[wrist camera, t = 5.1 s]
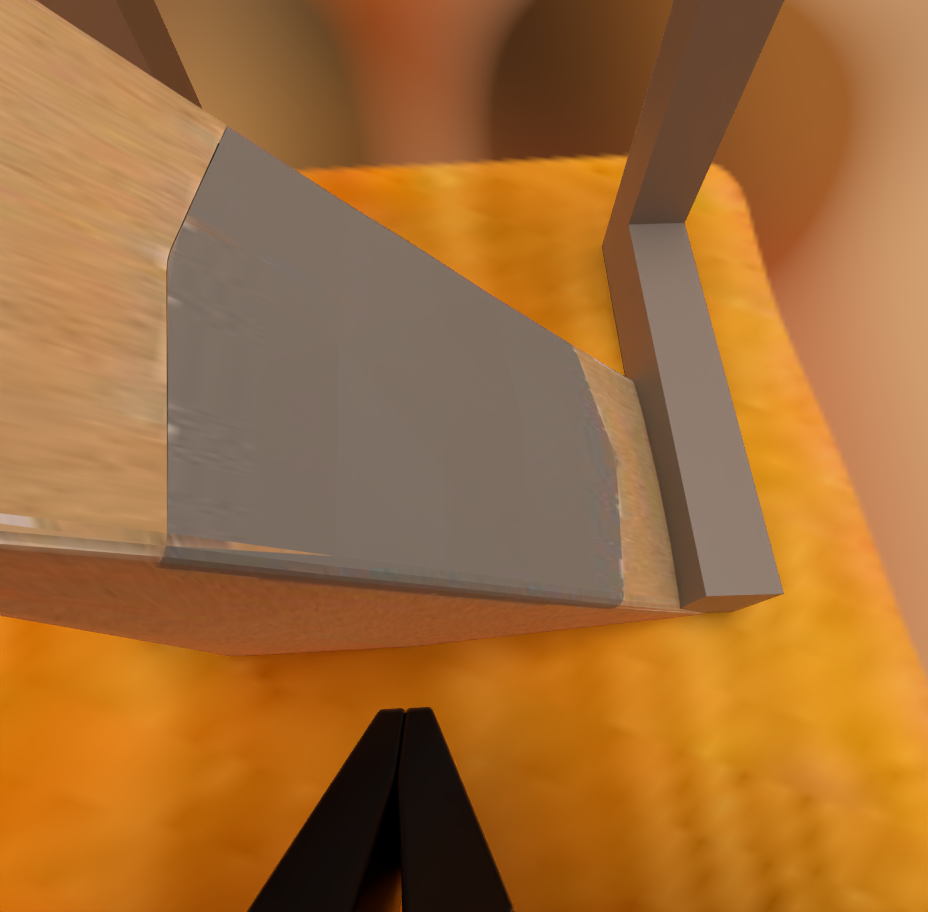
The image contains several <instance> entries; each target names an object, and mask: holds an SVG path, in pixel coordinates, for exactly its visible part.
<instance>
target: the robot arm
mask: <svg viewBox="0 0 928 912" xmlns="http://www.w3.org/2000/svg"><path fill="white" fill-rule="evenodd" d="M401 897H402V912H515V911H513V904H512V902H511V899H510V897H509V894H508V892H507V890H506V887H505V885H504V882H503V880H502V877H501V875H500V872H499V870H498V868H497V865H496V863H495V860H494V858H493V855H492V853H491V851H490V848H489V846H488V843H487V841H486V838H485V836H484V833H483V831H482V829H481V826H480V824H479V821H478V819H477V816H476V814H475V811H474V809H473V807H472V804H471V802H470V799H469V797H468V794H467V792H466V789H465V787H464V785H463V782H462V780H461V777H460V775H459V772H458V770H457V768H456V765H455V763H454V760H453V758H452V755H451V753H450V750H449V748H448V746H447V743H446V741H445V738H444V736H443V733H442V731H441V728H440V726H439V724H438V721H437V719H436V716H435V714H434V712H433V710H432V709H431V708H430V707H421V708H409V709H408V710H407V711H406V712H405V710H404V709H402V708H398V709H382V710H380V711H379V712H378V713H377V714H376V716H375V717H374V719H373V720H372V722H371V723H370V725H369V726H368V728H367V730H366V731H365V733H364V734H363V736H362V737H361V739H360V740H359V742H358V743H357V745H356V746H355V748H354V749H353V751H352V752H351V754H350V755H349V757H348V758H347V760H346V761H345V763H344V764H343V766H342V768H341V769H340V771H339V772H338V774H337V775H336V777H335V778H334V780H333V781H332V783H331V784H330V786H329V787H328V789H327V790H326V792H325V793H324V795H323V796H322V798H321V799H320V801H319V802H318V804H317V806H316V807H315V809H314V810H313V812H312V813H311V815H310V816H309V818H308V819H307V821H306V822H305V824H304V825H303V827H302V828H301V830H300V831H299V833H298V834H297V836H296V837H295V839H294V840H293V842H292V844H291V845H290V847H289V848H288V850H287V851H286V853H285V854H284V856H283V857H282V859H281V860H280V862H279V863H278V865H277V866H276V868H275V869H274V871H273V872H272V874H271V875H270V877H269V878H268V880H267V881H266V883H265V885H264V886H263V888H262V889H261V891H260V892H259V894H258V895H257V897H256V898H255V900H254V901H253V903H252V904H251V906H250V907H249V909H248V910H247V912H399V911H400V904H401Z"/></svg>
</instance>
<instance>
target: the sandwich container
mask: <svg viewBox="0 0 928 912" xmlns="http://www.w3.org/2000/svg"><path fill="white" fill-rule="evenodd" d="M225 127H226V125H225V124H224V123H222V122H221V121H219V120H218V119H216V118H215V117H213V116H212V115H210V114H208V113H207V112H205V111H204V110H202V109H201V108H199V107H198V106H196V105H195V104H193V103H192V102H190V101H189V100H187V99H186V98H184V97H183V96H181V95H179V94H178V93H176V92H175V91H173V90H172V89H170V88H169V87H167V86H166V85H164V84H163V83H161V82H160V81H158V80H156V79H155V78H153V77H152V76H150V75H149V74H147V73H146V72H144V71H143V70H141V69H140V68H138V67H137V66H135V65H133V64H132V63H130V62H129V61H127V60H126V59H124V58H123V57H121V56H120V55H118V54H117V53H115V52H114V51H112V50H110V49H109V48H107V47H106V46H104V45H103V44H101V43H100V42H98V41H97V40H95V39H94V38H92V37H91V36H89V35H87V34H86V33H84V32H83V31H81V30H80V29H78V28H77V27H75V26H74V25H72V24H71V23H69V22H68V21H66V20H65V19H63V18H62V17H60V16H59V15H57V14H56V13H54V12H53V11H51V10H50V9H48V8H47V7H45V6H44V5H42V4H41V3H39V2H38V1H36V0H0V615H1V616H6V617H12V618H18V619H23V620H29V621H35V622H41V623H46V624H52V625H58V626H63V627H69V628H75V629H80V630H86V631H92V632H97V633H103V634H109V635H114V636H120V637H126V638H131V639H137V640H143V641H148V642H154V643H160V644H165V645H171V646H177V647H182V648H188V649H194V650H199V651H205V652H211V653H216V654H222V655H228V656H249V655H267V654H285V653H304V652H322V651H340V650H358V649H376V648H395V647H412V646H424V645H429V644H438V643H447V642H456V641H465V640H474V639H483V638H492V637H501V636H510V635H519V634H528V633H537V632H546V631H555V630H564V629H573V628H582V627H591V626H600V625H609V624H618V623H627V622H636V621H645V620H654V619H663V618H672V617H681V616H689V615H698V614H702V613H701V612H696V611H690V610H685V609H680V600H679V593H678V587H677V581H676V574H675V568H674V561H673V555H672V549H671V543H670V538H669V533H668V527H667V522H666V517H665V512H664V507H663V502H662V497H661V492H660V487H659V482H658V477H657V473H656V468H655V464H654V460H653V456H652V451H651V447H650V443H649V438H648V434H647V430H646V425H645V421H644V417H643V413H642V409H641V406H640V402H639V399H638V395H637V392H636V388H635V385H634V382H633V381H632V380H630V379H628V378H626V377H625V376H623V375H621V374H620V373H618V372H616V371H614V370H613V369H611V368H609V367H608V366H606V365H604V364H603V363H601V362H599V361H598V360H596V359H595V358H593V357H591V356H590V355H588V354H586V353H585V352H583V351H581V350H580V349H578V348H576V347H575V346H573V345H571V344H570V343H568V342H567V341H565V340H563V339H562V338H560V337H558V336H557V335H555V334H554V333H552V332H550V331H549V330H547V329H546V328H544V327H542V326H541V325H539V324H537V323H536V322H534V321H533V320H531V319H529V318H528V317H526V316H524V315H523V314H521V313H520V312H518V311H516V310H515V309H513V308H512V307H510V306H508V305H507V304H505V303H503V302H502V301H500V300H499V299H497V298H495V297H494V296H492V295H490V294H489V293H487V292H486V291H484V290H483V289H481V288H480V287H478V286H477V285H475V284H474V283H472V282H470V281H469V280H467V279H466V278H464V277H463V276H461V275H460V274H458V273H457V272H455V271H454V270H452V269H451V268H449V267H447V266H446V265H444V264H443V263H441V262H440V261H438V260H437V259H435V258H434V257H432V256H431V255H429V254H427V253H426V252H424V251H423V250H421V249H420V248H418V247H416V246H415V245H413V244H412V243H410V242H408V241H407V240H405V239H403V238H402V237H400V236H399V235H397V234H395V233H394V232H392V231H391V230H389V229H387V228H386V227H384V226H382V225H381V224H379V223H378V222H376V221H374V220H373V219H371V218H369V217H368V216H366V215H365V214H363V213H361V212H360V211H358V210H357V209H355V208H353V207H352V206H350V205H348V204H347V203H345V202H344V201H342V200H340V199H339V198H337V197H336V196H334V195H333V194H331V193H330V192H328V191H327V190H325V189H324V188H322V187H320V186H319V185H317V184H316V183H314V182H313V181H311V180H310V179H308V178H307V177H305V176H304V175H302V174H300V173H299V172H297V171H296V170H294V169H293V168H291V167H290V166H288V165H287V164H285V163H283V162H282V161H280V160H279V159H277V158H276V157H274V156H273V155H271V154H270V153H268V152H267V151H265V150H263V149H262V148H260V147H259V146H257V145H256V144H254V143H253V142H251V141H250V140H248V139H247V138H245V137H243V136H242V135H240V134H239V133H237V132H236V131H234V130H233V129H231V128H230V127H227V128H226V130H225V132H224V129H225ZM223 132H224V134H223ZM222 134H223V136H222ZM221 136H222V139H221V141H220V138H221ZM219 141H220V143H219Z"/></svg>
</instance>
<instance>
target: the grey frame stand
mask: <svg viewBox="0 0 928 912" xmlns="http://www.w3.org/2000/svg"><path fill="white" fill-rule="evenodd" d="M36 1H38V2H39V3H41V4H42V5H44V6H45V7H47V8H48V9H50V10H51V11H53V12H54V13H56V14H57V15H59V16H60V17H62V18H63V19H65V20H66V21H68V22H69V23H71V24H72V25H74V26H75V27H77V28H78V29H80V30H81V31H83V32H84V33H86V34H87V35H89V36H91V37H92V38H94V39H95V40H97V41H98V42H100V43H101V44H103V45H104V46H106V47H107V48H109V49H110V50H112V51H114V52H115V53H117V54H118V55H120V56H121V57H123V58H124V59H126V60H127V61H129V62H130V63H132V64H133V65H135V66H137V67H138V68H140V69H141V70H143V71H144V72H146V73H147V74H149V75H150V76H152V77H153V78H155V79H156V80H158V81H160V82H161V83H163V84H164V85H166V86H167V87H169V88H170V89H172V90H173V91H175V92H176V93H178V94H179V95H181V96H183V97H184V98H186V99H187V100H189V101H190V102H192V103H193V104H195V105H196V106H198V107H199V108H201V109H202V107H201V105H200V103H199V100H198V98H197V96H196V93H195V91H194V89H193V87H192V84H191V82H190V80H189V78H188V75H187V73H186V71H185V69H184V66H183V64H182V62H181V60H180V57H179V55H178V53H177V51H176V48H175V46H174V44H173V42H172V40H171V37H170V35H169V33H168V31H167V28H166V26H165V24H164V22H163V19H162V17H161V15H160V13H159V10H158V8H157V6H156V4H155V1H154V0H36ZM783 2H784V0H674V1H673V4H672V8H671V11H670V15H669V18H668V22H667V25H666V28H665V32H664V36H663V39H662V42H661V46H660V49H659V53H658V56H657V59H656V63H655V67H654V70H653V73H652V77H651V80H650V84H649V87H648V90H647V94H646V97H645V101H644V104H643V108H642V111H641V114H640V118H639V121H638V125H637V128H636V132H635V135H634V139H633V142H632V146H631V149H630V152H629V156H628V159H627V162H626V166H625V169H624V173H623V176H622V180H621V183H620V187H619V190H618V193H617V197H616V200H615V204H614V207H613V211H612V214H611V217H610V221H609V224H608V228H607V231H606V235H605V238H604V241H603V245H602V249H603V254H604V260H605V266H606V271H607V277H608V282H609V288H610V293H611V299H612V305H613V310H614V316H615V321H616V327H617V332H618V338H619V344H620V349H621V355H622V360H623V366H624V371H625V377H626V378H628V379H630V380H632V381H633V382H634V385H635V388H636V392H637V395H638V399H639V402H640V406H641V409H642V413H643V417H644V421H645V425H646V430H647V434H648V438H649V443H650V447H651V451H652V456H653V460H654V464H655V468H656V473H657V477H658V482H659V487H660V492H661V497H662V502H663V507H664V512H665V517H666V522H667V527H668V533H669V538H670V543H671V549H672V555H673V561H674V568H675V574H676V581H677V587H678V593H679V600H680V609H685V610H690V611H696V612H701V613H709V612H733V611H736V610H739V609H742V608H745V607H748V606H750V605H753V604H756V603H759V602H762V601H764V600H767V599H770V598H773V597H776V596H779V595H781V594H784V593H783V589H782V585H781V581H780V578H779V574H778V570H777V567H776V563H775V559H774V555H773V552H772V548H771V544H770V540H769V537H768V533H767V529H766V525H765V522H764V518H763V514H762V510H761V507H760V503H759V499H758V496H757V492H756V488H755V484H754V481H753V477H752V473H751V469H750V466H749V462H748V458H747V454H746V451H745V447H744V443H743V440H742V436H741V432H740V428H739V425H738V421H737V417H736V413H735V410H734V406H733V402H732V398H731V395H730V391H729V387H728V384H727V380H726V376H725V372H724V369H723V365H722V361H721V357H720V354H719V350H718V346H717V342H716V339H715V335H714V331H713V328H712V324H711V320H710V316H709V313H708V309H707V305H706V301H705V298H704V294H703V290H702V286H701V283H700V279H699V275H698V272H697V268H696V264H695V260H694V257H693V253H692V249H691V245H690V242H689V238H688V234H687V230H686V227H685V221H686V218H687V216H688V214H689V212H690V210H691V207H692V205H693V203H694V201H695V198H696V196H697V194H698V192H699V189H700V187H701V185H702V183H703V181H704V178H705V176H706V174H707V172H708V169H709V167H710V165H711V163H712V160H713V158H714V156H715V154H716V151H717V149H718V147H719V145H720V142H721V140H722V138H723V136H724V133H725V131H726V129H727V127H728V125H729V122H730V120H731V118H732V116H733V113H734V111H735V109H736V107H737V104H738V102H739V100H740V98H741V96H742V93H743V91H744V89H745V87H746V84H747V82H748V80H749V77H750V76H751V73H752V71H753V69H754V67H755V64H756V62H757V59H758V58H759V55H760V53H761V51H762V49H763V47H764V44H765V42H766V40H767V37H768V35H769V33H770V31H771V29H772V26H773V24H774V22H775V20H776V17H777V15H778V13H779V11H780V9H781V6H782V4H783ZM202 110H203V109H202Z"/></svg>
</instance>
